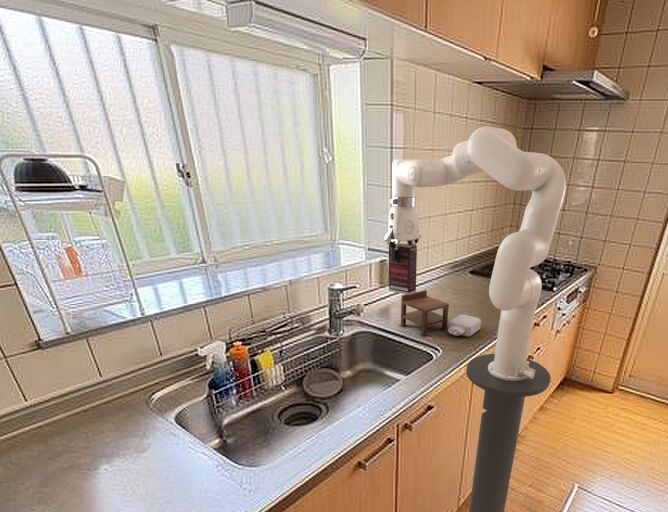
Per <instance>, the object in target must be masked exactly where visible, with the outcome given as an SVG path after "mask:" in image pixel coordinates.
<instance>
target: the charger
mask: <svg viewBox="0 0 668 512" xmlns="http://www.w3.org/2000/svg"><path fill="white" fill-rule="evenodd" d="M481 324H482V320H481V319H480V318H479V317H476V316H471V315H467V314H464V313H460V314H459V315H457V316H455V317H454V318H452V319H450V320H448V324H447V332H448V333H449V334H450V335H453V336H462V337H463V336H464V337H465V338H466V337H467V338H469V337H471V336H473V335H474V334H475V333H477V332H478V331H479V330H481Z"/></svg>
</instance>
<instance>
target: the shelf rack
mask: <svg viewBox="0 0 668 512" xmlns="http://www.w3.org/2000/svg"><path fill="white" fill-rule="evenodd" d="M400 300H401V301H400V304H401V306H400V326H401V327H406V326H407V321H409V322H412V323H414V324H416V325H418V326H420V327H421V332H420V333H421V334H420V335H421V336H422V337H426V336H427V335H428V327H430V326H433V325H436V324H440V323H441V329H442V330H444V331H445V330H448V322H449V319H448V318H449V308H450V307H449V306H450V304H449V303H447V302H445V301H442V300H439V299H436V298H434V297H431V296H428V290H427V289H423V290H419V291H416V292H415V293H413V294H410V295H407V294H401V299H400ZM407 307H410V308H413V309H415V310H413V311H409V312H407ZM440 309H442V315H441V314H439V313H436V312H434V311H437V310H440Z"/></svg>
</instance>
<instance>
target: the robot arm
mask: <svg viewBox="0 0 668 512" xmlns="http://www.w3.org/2000/svg"><path fill="white" fill-rule="evenodd" d="M517 146H518V145H517V140H516V138H515V135H513V133H512V132H511V131H509V130H507V129H505V128H501V127H496V126H487V125H485V126H482V127H481V126H480V127H479V128H477V129H475V130H474V131H473V132H472V133H471V135H470V137H469V138H468V139H466V140H464V141H462V142H459V143H457V144H455V146H454V148H453V150H452V154H451V155H449V156H445V157H442V158H440V159H425V158H424V159H423V158H421V159H420V158H415V159H409V158H408V159H406V158H396V159H394V160H393V161H392V162H391V199H390V200H389V203H390V204H391V207H390V209H389V215H388V226H387V227H388V228H387V232H386V234H385V236H384V238H383V240H384V241H385V243H387V246H388V247H389V246H390V248H391V249H392V261H394V262H399V261H400V251H399V250H398V248H399V244H400V243H401V242H406V244H408V245H415V246H417V244H418V243H419V240H420V239H421V237H422V234H421V232H420V214H419V209H418V207H417V188H440V187H443V186H447V185H450V184H453V183H457V182H459V181H461V180H463V179H465V178H466V177H470V176H473V175H475V174H479V173H482V172H485V173H486V174H487V175H489V176H490V177H491V178H493V179H494V180H495V181H496V182H498V183H499V184H501V185H502V186H503V187H505V188H507V189H508V190H512V191H517V192H523V191H531V197H530V199H529V201H528V203H527V204H526V206H525V210H524V213H523V217H522V221H521V225H520V228H519V229H518V230H519V231H516V232H511V233H509V234H508V235H507V236H506V237H504V238H503V240H502V241H501V243H500V244H499V247H498V249H497V253H496V256H495V259H494V264H493V269H492V272H491V277H490V281H489V287H488V295H489V300H490V302H491V304H492V305H493V306H494V308H496V309H497V310H500V315H499V322H498V329H497V336H496V342H495V350H494V354H495V357H494V361H493V362H491V363H490V364H489V365H488V371H489V373H490V374H491V375H493V376H494V377H496V378H499V379H502V380H507V381H520V380H524V379H526V378H527V377H528V378H530V379H533V377H534V375H535V374H534V373H535V370H534V369H532V368H529V361H526V359H528V352H529V347H530V340H531V335H532V330H533V329H532V328H533V325H534V321H535V316H536V315H535V314H536V312H537V311H536V310H537V307H538V304H539V301H540V297H541V294H542V288H543V285H542V279H541V277H540V275H539V274H538V272H536V271H535V270H533V269H531V268H533V267H536V266H538V265H540V264H542V263H543V262H544V261H545V260H546V258H547V257H548V255H549V251H550V247H551V245H552V240H553V238H554V234H555V230H556V227H557V223H558V220H559V216H560V213H561V209H562V206H563V202H564V198H565V194H566V190H567V189H566V187H567V182H566V175H565V172H564V170H563V168H562V166H561V165H560V164H559V162H558V161H557V160H556V159H554V158H553V157H552V156H550V155H548V154H546V153H541V152H536V151H535V152H534V151H523V150H521V149H520V148H518V147H517ZM395 243H396V244H395Z"/></svg>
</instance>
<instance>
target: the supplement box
mask: <svg viewBox="0 0 668 512" xmlns="http://www.w3.org/2000/svg"><path fill="white" fill-rule="evenodd" d="M395 244H396V242H395ZM398 250H399V251H400V261H399V262H394V261H392V249H391V248H390V246H389V245H388V291H389V292H392V293H397V294H401V295H405V294H407V295H410V294H413V293H415V292H417V260H418V258H417V257H418V246H417V245H416V246H415V245H408V244H407V243H401V242H400V244H399V248H398Z"/></svg>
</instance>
